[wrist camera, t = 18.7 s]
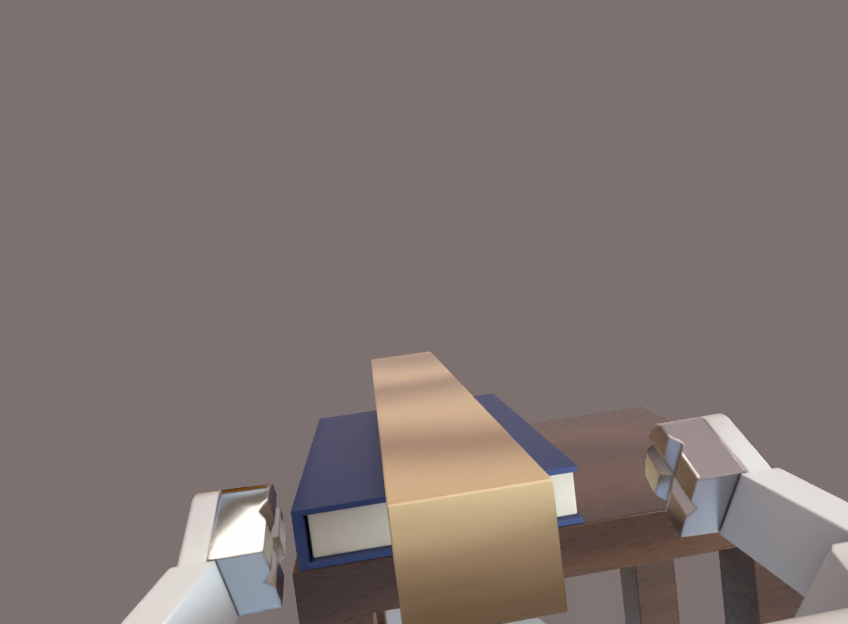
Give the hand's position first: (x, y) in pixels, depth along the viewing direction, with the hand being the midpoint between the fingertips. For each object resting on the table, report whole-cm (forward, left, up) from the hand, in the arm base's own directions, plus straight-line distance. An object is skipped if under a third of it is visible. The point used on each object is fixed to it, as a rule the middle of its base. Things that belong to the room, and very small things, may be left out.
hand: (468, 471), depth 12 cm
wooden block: (-5, +10, -3) cm, 12 cm away
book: (-6, +14, -6) cm, 16 cm away
